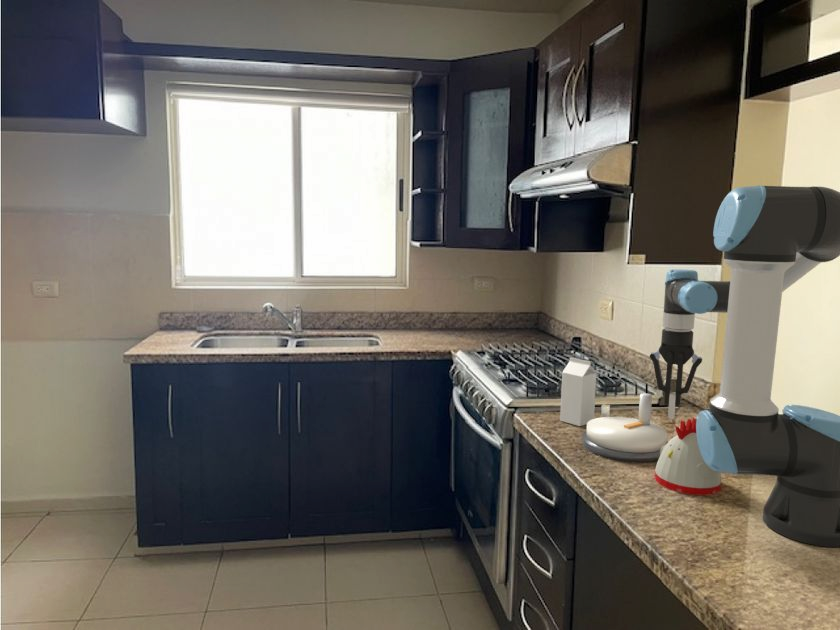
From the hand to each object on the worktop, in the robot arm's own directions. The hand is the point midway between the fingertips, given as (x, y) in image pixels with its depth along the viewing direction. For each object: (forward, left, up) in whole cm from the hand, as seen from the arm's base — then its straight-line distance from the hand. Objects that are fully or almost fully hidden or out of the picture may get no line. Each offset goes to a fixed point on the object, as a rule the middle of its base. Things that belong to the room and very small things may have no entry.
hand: (671, 417), depth 162 cm
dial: (-7, +10, -6) cm, 14 cm away
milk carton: (+9, +26, -8) cm, 29 cm away
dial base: (-5, +10, -8) cm, 14 cm away
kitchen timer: (-24, -6, -8) cm, 26 cm away
